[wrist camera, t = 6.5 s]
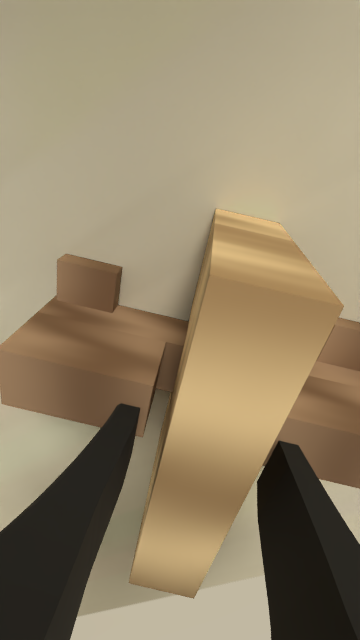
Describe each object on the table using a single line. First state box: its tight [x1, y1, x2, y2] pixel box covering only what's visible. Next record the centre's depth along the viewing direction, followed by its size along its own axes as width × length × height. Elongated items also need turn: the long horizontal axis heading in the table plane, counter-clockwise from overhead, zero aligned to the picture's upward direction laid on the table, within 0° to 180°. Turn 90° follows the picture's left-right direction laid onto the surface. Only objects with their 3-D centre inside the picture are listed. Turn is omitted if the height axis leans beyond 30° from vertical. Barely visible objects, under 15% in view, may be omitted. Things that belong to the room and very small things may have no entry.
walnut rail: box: [0, 254, 360, 488], centre depth 13 cm, size 14×6×5 cm, turn 79°
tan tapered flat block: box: [129, 209, 344, 598], centre depth 12 cm, size 12×2×7 cm, turn 169°
